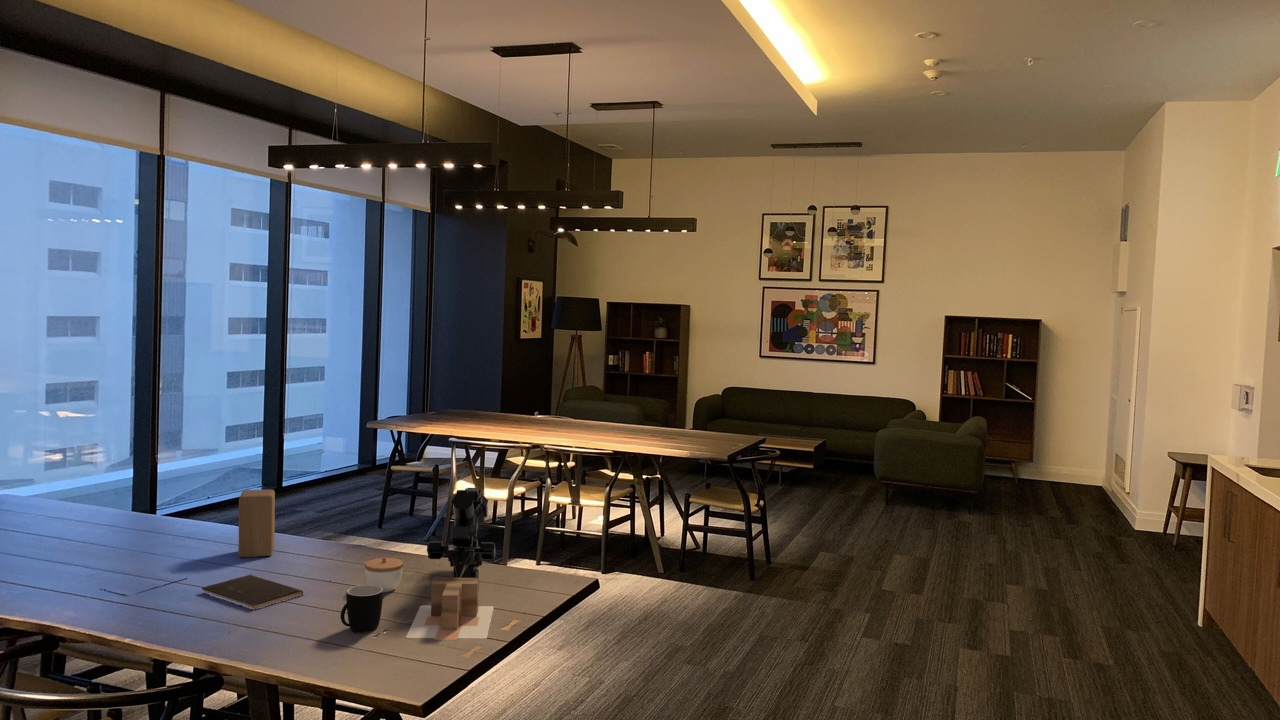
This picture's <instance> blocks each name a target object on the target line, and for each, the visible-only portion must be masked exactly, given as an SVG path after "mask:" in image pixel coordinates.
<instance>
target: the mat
mask: <svg viewBox="0 0 1280 720" xmlns="http://www.w3.org/2000/svg"><path fill="white" fill-rule="evenodd" d="M494 607H495V606H493V605H490V606H489V605H488V606H485V605H478V613H477V617H461V619H460V622H459V625H458V628H457V630H441V616H431V605H420V606H419V608H418V611H417V613H416V614H415V617H414V619H413V622H412V623H411V626H410V628H409V630H408V632H407V635H405V638H406V639H434V641H458V639H487V638H488V634H489V629H490V625H491V623H492V622H491V620H492V617H493V613H494Z"/></svg>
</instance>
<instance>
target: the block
mask: <svg viewBox="0 0 1280 720" xmlns="http://www.w3.org/2000/svg"><path fill="white" fill-rule="evenodd" d="M275 495H276V493H275V489H245V490H242V491H241V494H240V495H239V497H238V556H239V558H241V557H247V558H258V557H257V556H269V557H272V555H273V552H274V550H275V549H274V548H275V530H276V529H275V527H276V526H275V525H276V524H275V519H276V518H275V513H276V511H275V509H276V508H275V506H276V503H275V502H276V499H275V498H276V496H275ZM254 556H255V557H254Z"/></svg>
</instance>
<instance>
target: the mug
mask: <svg viewBox="0 0 1280 720" xmlns="http://www.w3.org/2000/svg"><path fill="white" fill-rule="evenodd" d="M345 595H346V597H345V598H346V599H345V601H346V603H344V605H343V607H342V609H341V611H340V621H341V623H342V624H343V626H346V627H349V628H350V630H351V631H352V632H353V633H356V634H364V633H369V632H373V631H375V630H377V629H378V627H379V624H380V621H381V617H382V616H381V615H382V609H383V602H384V601H383V600H384V599H383V598H384V592H383V589H382V588H381V587H380V586H376V585H368V584H361V585H360V584H359V585H355V586H351V587H349V588H348V589H346V594H345ZM346 613H347V621H348V622H346V619H345V616H346Z"/></svg>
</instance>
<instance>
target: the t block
mask: <svg viewBox="0 0 1280 720" xmlns="http://www.w3.org/2000/svg"><path fill="white" fill-rule="evenodd" d="M479 583H480V578H453V577H433V580H432V582H431V600H430V603H431V604H430V606H431V616H441V630H457V628H458V625H459V622H460V619H461V617H477V613H478V606H479V601H480V600H479V597H480V596H479V591H480V584H479Z"/></svg>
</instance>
